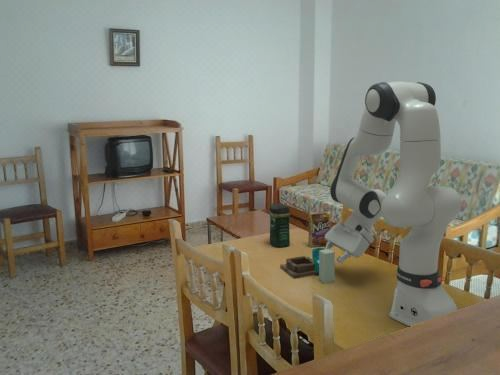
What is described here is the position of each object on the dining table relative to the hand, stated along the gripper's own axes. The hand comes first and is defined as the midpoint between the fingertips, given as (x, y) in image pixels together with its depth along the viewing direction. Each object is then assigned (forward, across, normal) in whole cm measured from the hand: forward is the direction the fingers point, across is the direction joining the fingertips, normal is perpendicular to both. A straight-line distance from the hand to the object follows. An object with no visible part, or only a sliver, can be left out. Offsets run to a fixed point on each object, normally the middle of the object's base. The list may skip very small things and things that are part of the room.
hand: (331, 257), depth 173 cm
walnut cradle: (+10, -12, +1) cm, 16 cm away
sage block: (+7, 0, +4) cm, 8 cm away
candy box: (-4, -35, +16) cm, 39 cm away
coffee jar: (+6, -44, +6) cm, 45 cm away
